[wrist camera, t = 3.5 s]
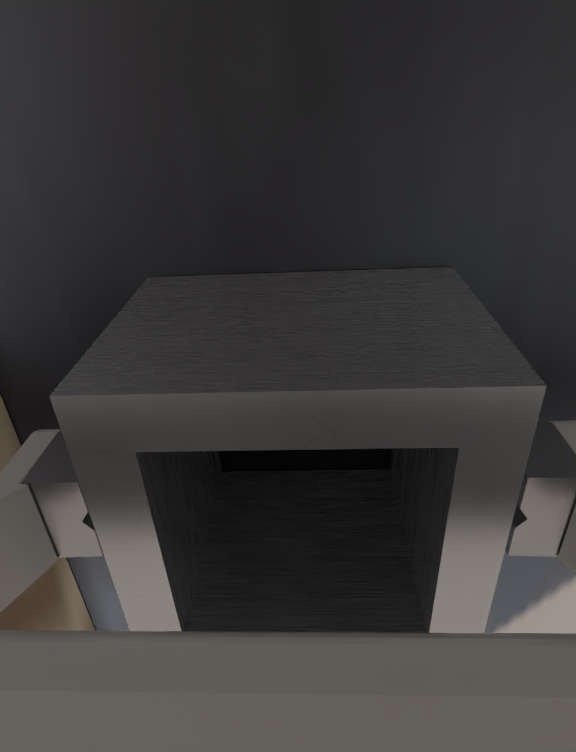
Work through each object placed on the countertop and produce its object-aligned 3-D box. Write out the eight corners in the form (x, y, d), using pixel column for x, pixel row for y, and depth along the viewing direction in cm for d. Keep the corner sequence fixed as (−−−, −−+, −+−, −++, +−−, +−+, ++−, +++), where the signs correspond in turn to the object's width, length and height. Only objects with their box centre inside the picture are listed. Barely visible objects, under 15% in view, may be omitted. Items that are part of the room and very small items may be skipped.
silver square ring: (147, 277, 10) (48, 396, 6) (452, 267, 10) (547, 386, 6) (191, 498, 13) (143, 669, 9) (424, 496, 13) (473, 672, 9)
